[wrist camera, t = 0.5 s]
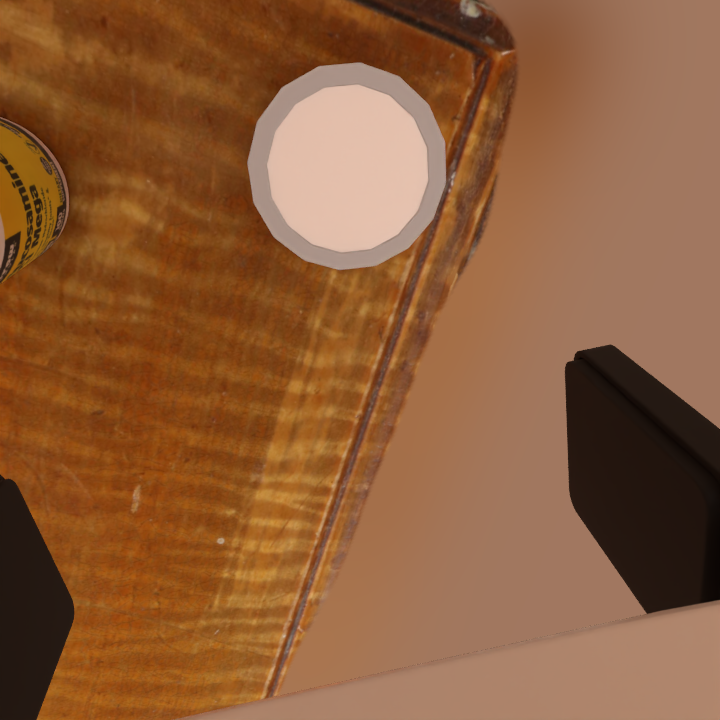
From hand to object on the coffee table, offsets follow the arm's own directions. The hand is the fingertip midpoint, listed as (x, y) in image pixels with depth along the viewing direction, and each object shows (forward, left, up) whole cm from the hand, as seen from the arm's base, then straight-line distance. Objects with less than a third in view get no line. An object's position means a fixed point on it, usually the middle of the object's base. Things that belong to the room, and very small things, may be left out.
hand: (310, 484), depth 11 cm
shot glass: (-4, -1, -20) cm, 21 cm away
